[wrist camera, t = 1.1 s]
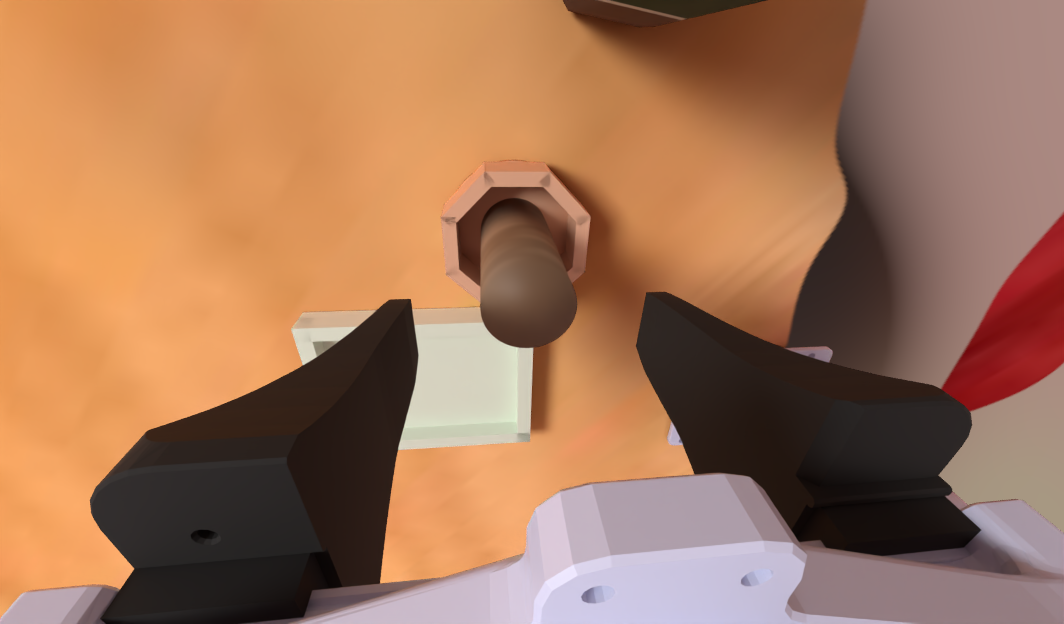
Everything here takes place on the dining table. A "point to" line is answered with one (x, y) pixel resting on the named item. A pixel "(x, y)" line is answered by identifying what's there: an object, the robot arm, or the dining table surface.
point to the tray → (446, 376)
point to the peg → (523, 277)
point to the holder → (503, 183)
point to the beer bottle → (651, 9)
